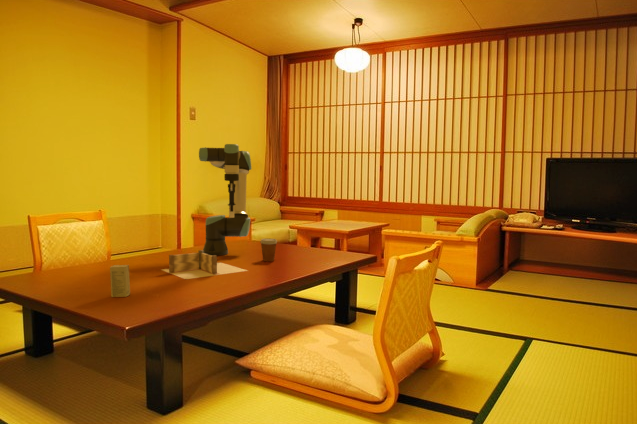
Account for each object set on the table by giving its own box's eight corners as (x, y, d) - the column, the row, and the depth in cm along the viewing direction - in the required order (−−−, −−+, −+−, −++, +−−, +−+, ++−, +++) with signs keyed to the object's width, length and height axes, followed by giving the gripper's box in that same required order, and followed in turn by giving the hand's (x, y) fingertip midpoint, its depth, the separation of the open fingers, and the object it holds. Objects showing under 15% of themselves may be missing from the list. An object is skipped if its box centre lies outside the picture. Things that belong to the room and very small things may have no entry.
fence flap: (200, 268, 253) (200, 251, 253) (203, 268, 255) (203, 251, 254) (213, 273, 241) (213, 256, 241) (217, 273, 243) (216, 255, 242)
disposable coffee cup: (276, 262, 279) (276, 240, 279) (259, 261, 280) (259, 240, 279) (277, 259, 289) (277, 238, 288) (261, 258, 289) (261, 238, 288)
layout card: (160, 270, 252) (160, 269, 252) (220, 263, 274) (220, 262, 274) (185, 280, 230) (185, 279, 230) (248, 271, 252) (248, 270, 252)
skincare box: (130, 294, 202) (130, 264, 201) (126, 297, 198) (126, 266, 197) (114, 294, 202) (113, 264, 201) (110, 297, 198) (109, 266, 197)
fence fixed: (202, 268, 257) (201, 250, 256) (204, 269, 255) (204, 250, 254) (169, 272, 245) (168, 253, 245) (171, 273, 244) (170, 254, 243)
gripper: (224, 172, 271) (225, 215, 274) (223, 173, 259) (224, 219, 261) (238, 172, 272) (239, 215, 275) (238, 173, 260) (238, 218, 262)
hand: (231, 217), depth 268 cm, fingers closed
